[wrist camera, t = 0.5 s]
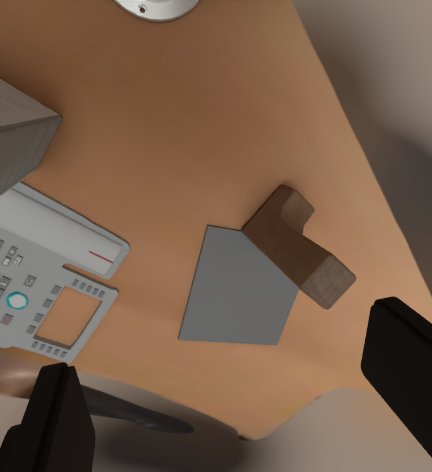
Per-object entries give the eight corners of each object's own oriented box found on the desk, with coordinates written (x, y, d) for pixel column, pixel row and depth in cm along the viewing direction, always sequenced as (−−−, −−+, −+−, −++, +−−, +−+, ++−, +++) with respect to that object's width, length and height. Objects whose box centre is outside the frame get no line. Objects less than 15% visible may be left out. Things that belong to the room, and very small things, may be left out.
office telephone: (-8, 171, 35) (149, 253, 43) (1, 167, 37) (148, 245, 45) (-92, 328, 39) (65, 377, 47) (-79, 315, 41) (69, 364, 49)
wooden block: (281, 183, 45) (366, 216, 29) (300, 202, 47) (391, 244, 30) (240, 230, 46) (300, 289, 29) (260, 248, 48) (328, 312, 31)
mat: (207, 224, 45) (208, 226, 45) (314, 243, 50) (316, 244, 50) (178, 337, 51) (178, 339, 51) (275, 343, 57) (276, 345, 56)
